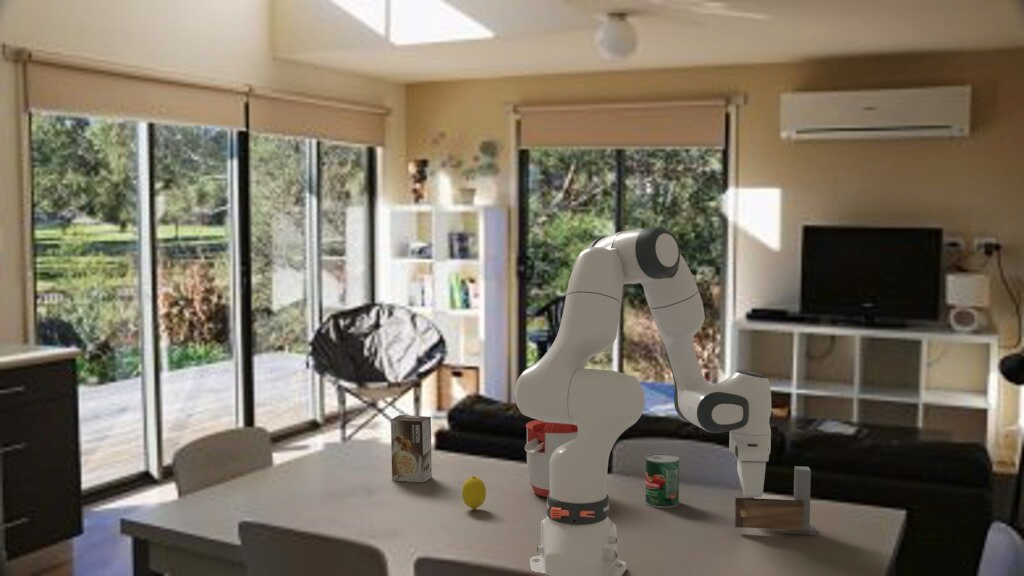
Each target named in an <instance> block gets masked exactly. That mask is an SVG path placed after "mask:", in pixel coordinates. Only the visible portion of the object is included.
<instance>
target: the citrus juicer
mask: <svg viewBox="0 0 1024 576" xmlns="http://www.w3.org/2000/svg"><path fill="white" fill-rule="evenodd" d="M525 427H526V444H525V445H524V451H525V452H526V465H527V466H526V467H527V473H528V477H529V480H530V485H531V489H532V491H533V492H534V493H535V495H538V496H540V497H543V498H544V497H545V498H548V494H549V493H550V458H551V456H552V454H553V452H554V451H555V450H556V449H557V448H558V447H560V446H561V445H563V444H565V443H567V442H570V441H572V440H575V439H576V437H577V433H578V427H577V426H576V425H572V424H561V423H551V422H543V421H540V420H537V419H533V420H530V421H528V422H527V423H526V424H525Z"/></svg>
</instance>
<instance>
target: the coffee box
mask: <svg viewBox="0 0 1024 576" xmlns="http://www.w3.org/2000/svg"><path fill="white" fill-rule="evenodd" d="M390 442H391V445H390V446H391V448H390V449H391V480H392V481H393V482H394V481H395V482H405V481H406V483H407V482H409V483H418V482H419V483H421V482H422V483H421V484H425V483H426V482H427V481H429V480H431V477H433V472H432V471H433V470H432V466H433V464H432V463H433V462H432V417H431V416H423V415H422V416H421V415H410V414H409V415H407V414H406V415H405V414H399V415H397V416H395V417H393V418H391V420H390ZM428 479H429V480H428ZM425 481H426V482H425ZM424 482H425V483H424Z"/></svg>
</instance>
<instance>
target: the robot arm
mask: <svg viewBox="0 0 1024 576" xmlns="http://www.w3.org/2000/svg"><path fill="white" fill-rule="evenodd" d="M630 284H631V285H634V284H635V285H636V284H641V285H642V287H643V292H644V295H645V299H646V302H647V304H648V308H649V310H650V313H651V316H652V318H653V321H654V323H655V325H656V328H657V330H658V332H659V336H660V338H661V340H662V343H663V348H664V351H665V354H666V358H667V361H668V364H669V367H670V371H671V374H672V378H673V383H674V392H673V405H674V409H675V412H676V413H677V415H678V416H679V417H680V418H681V419H682V420H683V421H685V422H686V423H689V424H692V425H695V427H696V426H697V427H698V428H700V429H702V430H704V431H706V432H709V433H713V434H720V433H726V432H729V441H728V442H729V444H728V447H729V448H728V450H729V452H730V453H732V454H733V456H734V459H735V460H736V462H737V463H736V464H737V466H736V469H737V475H738V477H739V481H740V485H741V488H742V492H743V498H761V497H762V496H763V493H764V486H765V485H764V484H765V478H766V475H765V474H766V465H767V462H769V459H770V454H771V447H772V446H771V445H772V444H771V442H772V441H771V439H772V438H771V437H772V429H771V425H770V418H771V415H772V391H771V390H772V389H771V383H770V380H769V378H768V377H766V376H765V375H763V374H761V373H759V372H754V371H750V370H745V369H738V370H734V371H733V373H732V374H731V375H730V376H728V377H727V378H726V379H724V380H722V381H720V382H718V383H716V384H712V383H710V381H708V380H707V379H706V378H705V376H704V375H703V373H702V369H701V368H700V367H701V366H700V364H699V360H698V356H697V353H696V349H695V346H694V337H695V335H696V334H697V333H698V332H699V331H700V330H701V328H702V327H703V325H704V323H705V319H706V316H705V308H704V303H703V300H702V297H701V294H700V291H699V288H698V286H697V283H696V281H695V277H694V276H693V274H692V272H691V270H690V268H689V265H688V264H687V262H686V260H685V258H684V257H683V255H682V254H681V249H680V245H679V242H678V240H677V238H676V236H674V234H673V233H672V232H671V231H670V230H668V229H667V228H665V227H661V226H647V227H644V228H638V229H630V230H622V231H617V232H615V233H612V234H610V235H606V236H605V235H603V236H600V237H598V238H596V239H595V240H593V241H592V242H590V243H589V244H588V246H587V247H586V248H585V249H583V250H582V251H581V252H580V253H579V254H578V255H577V257H576V259H575V262H574V264H573V267H572V270H571V273H570V277H569V281H568V284H567V290H566V295H565V299H564V305H563V311H562V316H561V321H560V324H559V328H558V332H557V335H556V337H555V339H554V341H553V343H552V344H551V346H550V347H549V349H548V350H547V352H545V353H544V355H543V356H542V357H541V358H540V359H539V360H538V361H536V363H534V364H533V365H532V366H529V367H527V368H526V369H525V370H524V371H523V372H522V373H521V374H520V375H519V377H518V379H517V381H516V384H515V387H514V399H515V404H516V407H517V408H518V410H519V411H520V413H521V414H522V415H523V416H526V417H529V418H531V419H533V420H540V421H543V422H551V423H561V424H572V425H576V426H577V427H578V433H577V437H576V439H575V440H572V441H570V442H567V443H565V444H563V445H561V446H560V447H558V448H557V449H556V450H555V451H554V452H553V454H552V456H551V458H550V493H549V494H548V497H546V499H547V500H546V517H544V518H543V520H541V521H540V545H538V546H537V547H536V549H537V554H540V555H534V556H531V557H530V558H529V569H531V570H532V571H535V572H541V573H545V574H548V575H550V576H623V575H624V574H625V572H626V570H627V563H626V561H623V560H620V559H618V548H617V547H618V538H617V534H618V533H617V525H616V524H615V522H613V521H612V520H611V518H610V517H609V514H610V499H609V495H608V493H607V491H608V489H607V488H608V487H607V485H608V484H607V483H608V468H609V461H610V460H609V459H610V455H611V451H612V449H613V447H614V445H615V443H616V442H617V440H618V439H619V437H620V436H621V435H622V434H624V432H626V431H627V430H628V429H629V428H631V427H632V426H633V425H635V424H636V423H637V422H638V420H639V419H640V418H641V416H642V415H643V411H644V410H645V409H644V408H645V403H646V402H645V401H646V399H645V398H646V397H645V392H644V388H643V386H642V384H641V383H640V381H639V380H638V379H637V378H636V377H635V376H633V375H630V374H626V373H623V372H619V371H615V370H612V369H611V370H610V369H609V370H608V369H597V368H595V369H594V368H585V367H586V365H587V364H588V363H589V362H590V360H591V359H592V358H593V357H595V356H596V355H599V354H601V353H603V352H605V351H607V350H609V349H610V348H611V347H612V346H613V345H614V343H615V341H616V339H617V334H618V329H619V328H618V327H619V322H620V317H621V309H622V302H623V301H622V300H623V290H624V289H623V288H624V287H623V286H624V285H630ZM531 570H530V571H531Z"/></svg>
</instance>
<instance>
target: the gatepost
mask: <svg viewBox="0 0 1024 576" xmlns="http://www.w3.org/2000/svg"><path fill="white" fill-rule="evenodd" d="M793 469H794V471H793V475H794V476H793V477H794V478H793V500H803V503H804V508H803V530H785V531H786V533H787V534H788V535H802V536H804V535H805V536H807V535H808V536H817V533H818V531H817V529H816V526H815V524H810V521H811V484H812V483H811V482H812V481H811V479H812V478H811V477H812V470H811V469H810V467H809V466H797V465H795V466H794V468H793Z"/></svg>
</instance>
